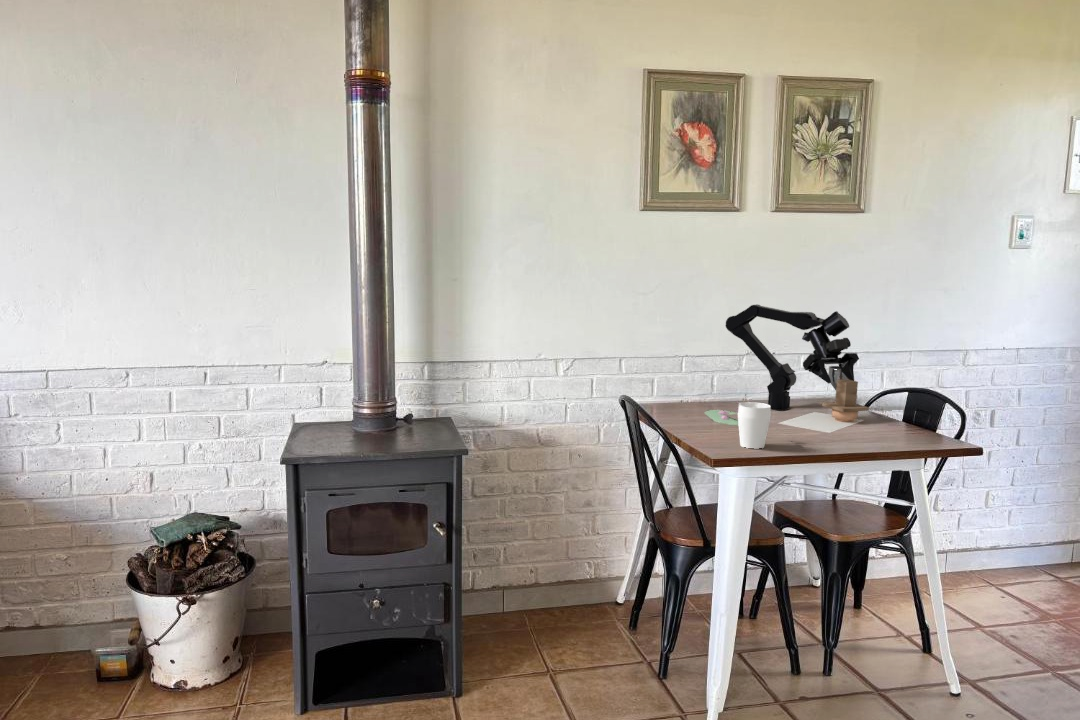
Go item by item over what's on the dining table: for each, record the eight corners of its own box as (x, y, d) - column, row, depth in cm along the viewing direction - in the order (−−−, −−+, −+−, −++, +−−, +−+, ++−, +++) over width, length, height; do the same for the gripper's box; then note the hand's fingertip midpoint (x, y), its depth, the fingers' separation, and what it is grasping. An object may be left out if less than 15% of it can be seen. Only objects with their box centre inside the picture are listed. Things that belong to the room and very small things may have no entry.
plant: (684, 415, 270) (685, 389, 268) (726, 409, 281) (728, 383, 280) (741, 430, 249) (742, 402, 248) (784, 423, 261) (786, 395, 259)
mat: (777, 426, 253) (777, 423, 253) (814, 414, 272) (814, 411, 271) (829, 435, 241) (829, 432, 241) (864, 423, 260) (864, 420, 260)
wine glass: (853, 412, 277) (856, 369, 275) (830, 411, 277) (833, 369, 275) (845, 407, 285) (848, 366, 283) (822, 407, 285) (825, 365, 283)
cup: (731, 442, 231) (733, 401, 229) (761, 442, 232) (764, 401, 230) (742, 450, 222) (744, 408, 220) (773, 450, 223) (776, 408, 221)
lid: (822, 405, 262) (824, 378, 260) (846, 404, 265) (849, 377, 264) (843, 412, 252) (845, 384, 251) (868, 410, 256) (870, 382, 254)
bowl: (827, 419, 259) (827, 407, 259) (837, 416, 265) (838, 404, 264) (851, 424, 254) (852, 411, 253) (861, 420, 259) (862, 408, 259)
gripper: (811, 329, 259) (831, 368, 250) (857, 328, 265) (878, 366, 256) (794, 350, 268) (812, 388, 259) (839, 349, 274) (859, 386, 265)
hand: (841, 382), depth 260 cm, fingers open, 9 cm apart
